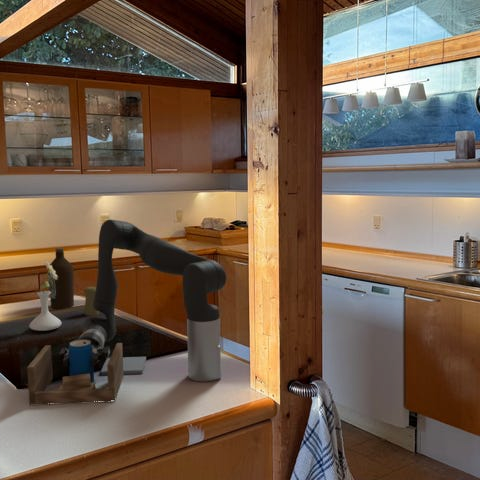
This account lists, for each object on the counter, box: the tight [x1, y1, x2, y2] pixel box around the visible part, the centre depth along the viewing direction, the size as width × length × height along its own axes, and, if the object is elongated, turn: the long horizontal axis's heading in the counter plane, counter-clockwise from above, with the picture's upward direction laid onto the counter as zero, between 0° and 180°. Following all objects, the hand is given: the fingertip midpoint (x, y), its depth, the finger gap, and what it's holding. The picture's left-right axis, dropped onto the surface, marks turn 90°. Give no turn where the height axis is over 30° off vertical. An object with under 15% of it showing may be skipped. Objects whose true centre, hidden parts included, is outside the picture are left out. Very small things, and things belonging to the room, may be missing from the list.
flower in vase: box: [29, 261, 63, 332], centre depth 219 cm, size 13×11×25 cm
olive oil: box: [47, 247, 75, 310], centre depth 253 cm, size 11×11×25 cm
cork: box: [83, 286, 100, 317], centre depth 241 cm, size 6×6×11 cm
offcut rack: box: [26, 342, 125, 406], centre depth 160 cm, size 22×18×10 cm
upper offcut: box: [62, 373, 91, 390], centre depth 158 cm, size 7×4×2 cm, turn 108°
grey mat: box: [100, 356, 147, 376], centre depth 178 cm, size 12×12×1 cm
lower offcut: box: [57, 382, 97, 391], centre depth 158 cm, size 9×4×2 cm, turn 95°
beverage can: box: [67, 339, 95, 383], centre depth 164 cm, size 6×6×12 cm
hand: (79, 362), depth 162 cm, fingers closed on beverage can, 6 cm apart
